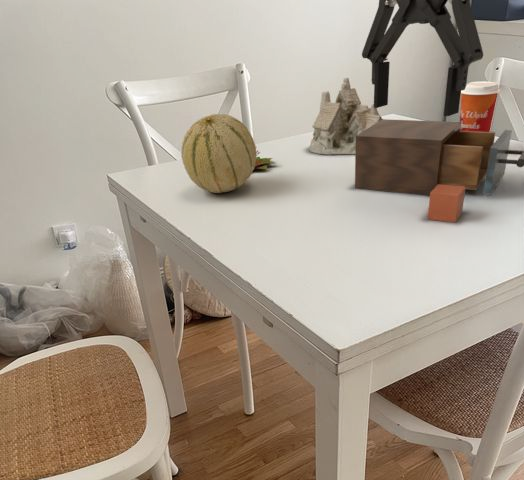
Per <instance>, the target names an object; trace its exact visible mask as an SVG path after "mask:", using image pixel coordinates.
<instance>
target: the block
mask: <svg viewBox="0 0 524 480" xmlns="http://www.w3.org/2000/svg"><path fill="white" fill-rule="evenodd" d="M465 193H466V189H465V187H463V186H452V185H441V184H438V185H437V186H436V187H435V188H434V189H433V190H432V191H431V193H430V195H429V201H428V202H429V203H428V210H427V211H428V212H427V220H430V221H437V222H438V221H439V222H440V221H441V222H447V223H456V222H457V220H458V219H459V218H460V217H461V215H462V214H463V207H464V202H465Z"/></svg>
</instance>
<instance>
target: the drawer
mask: <svg viewBox="0 0 524 480" xmlns="http://www.w3.org/2000/svg"><path fill="white" fill-rule="evenodd" d="M512 132H513V131H512V129H504V130H503V132H502V133H501V134H500V135H499V137H498V138H497V139H496V141H495V138H496V131H490V132H479V131H456V132H455V133H454V134H453V135H452V136H451V137H450V138H449V139H447V140H446V141H445V142H444V143H443V144H442V152H441V162H440V171H439V181H438V184H441V185H452V186H463V187H465V190H469V191H470V190H471V191H476V190H477V189H478V188H479V187H480V186H481V184H482V183H483V181H484V186H483V194H482V195H488V196H490V195H492V193H493V192H494V190H495V188H497V185H498V184H499V183H500V181H501V179H502V178H503V176H504V175H505V172H506V166H507V165H516V167H518V168H523V167H524V150H518V149H517V150H516V149H509V148H510V144H511V137H512ZM508 155H517V156H519V157H518V159H508Z"/></svg>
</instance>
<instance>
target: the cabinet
mask: <svg viewBox="0 0 524 480" xmlns="http://www.w3.org/2000/svg"><path fill="white" fill-rule="evenodd" d="M456 131H461V122H460V121H442V120H441V121H438V120H414V119H413V120H412V119H411V120H409V119H387V118H386V119H383V118H382V120H380V121H379V122H377V123H375V124H374V125H372V126H371V127H369V128H368V129H366V130H364V131H363V132H361V133H360V134H358V135H357V136H356V152H355V154H354V155H355V158H354V159H355V161H354V189H360V190H369V191H370V190H372V191H379V192H380V191H381V192H390V193H401V194H411V195H421V196H430V193H431V191H432V190H433V189H434V188H435V187H436V186H437V185H438V181H439V171H440V162H441V152H442V144H443V143H444V142H445V141H446V140H447V139H449V138H450V137H451V136H452V135H453V134H454V133H455V132H456Z"/></svg>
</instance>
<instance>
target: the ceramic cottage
mask: <svg viewBox="0 0 524 480" xmlns="http://www.w3.org/2000/svg"><path fill="white" fill-rule="evenodd" d="M382 119H383V117H382V116H381V115H380V113H379V111H378V108H374V103H373V104H371V106H370V107H369V106H368V105H365V104H362V102H361V100H360V97H359V95H358V91H357V89H356V88H355V87H352V88H351V83H350V79H349V77H344V78H343V83H341V86H340V90H338V94H337V96H336V99H335V102H331V94H330V92H329V90H327V91H322V92H321V99H320V104H319V112H318V114H317V116H316V118H315V120H314V122H313V124H312V125H311V126H312V128H313V129H314V131H313V133H312V136H313V137H312V139H311V141H310V144H309V152H310V153H314V154H319V155H321V154H322V155H355V152H356V136H357V135H358V134H360V133H361V132H363V131H364V130H366V129H368V128H369V127H371V126H372V125H374V124H375V123H377V122H379V121H380V120H382Z"/></svg>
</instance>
